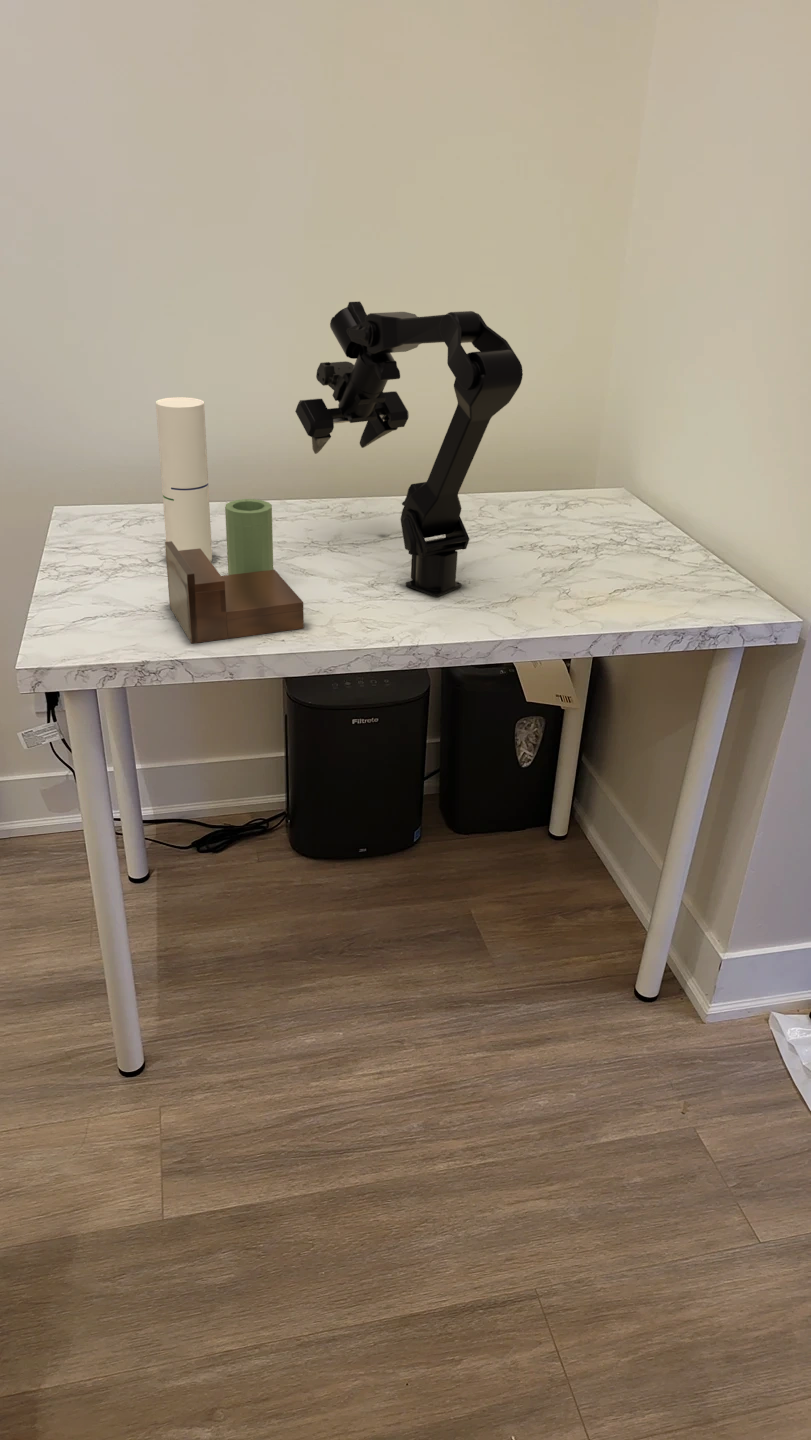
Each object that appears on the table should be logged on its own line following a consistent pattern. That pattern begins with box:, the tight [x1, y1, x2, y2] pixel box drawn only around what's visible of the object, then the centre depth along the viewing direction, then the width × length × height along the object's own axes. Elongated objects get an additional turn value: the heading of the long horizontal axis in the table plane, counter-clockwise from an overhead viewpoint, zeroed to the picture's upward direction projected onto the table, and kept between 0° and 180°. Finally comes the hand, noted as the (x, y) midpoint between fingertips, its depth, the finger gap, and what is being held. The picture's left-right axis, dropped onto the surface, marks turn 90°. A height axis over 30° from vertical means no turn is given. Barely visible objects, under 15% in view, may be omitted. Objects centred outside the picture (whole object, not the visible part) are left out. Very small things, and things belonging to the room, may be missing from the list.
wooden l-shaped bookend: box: [164, 541, 305, 644], centre depth 146 cm, size 16×13×10 cm
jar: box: [224, 498, 274, 575], centre depth 156 cm, size 7×7×12 cm
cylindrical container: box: [155, 396, 213, 563], centre depth 162 cm, size 7×7×25 cm
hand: (338, 448), depth 175 cm, fingers open, 9 cm apart
